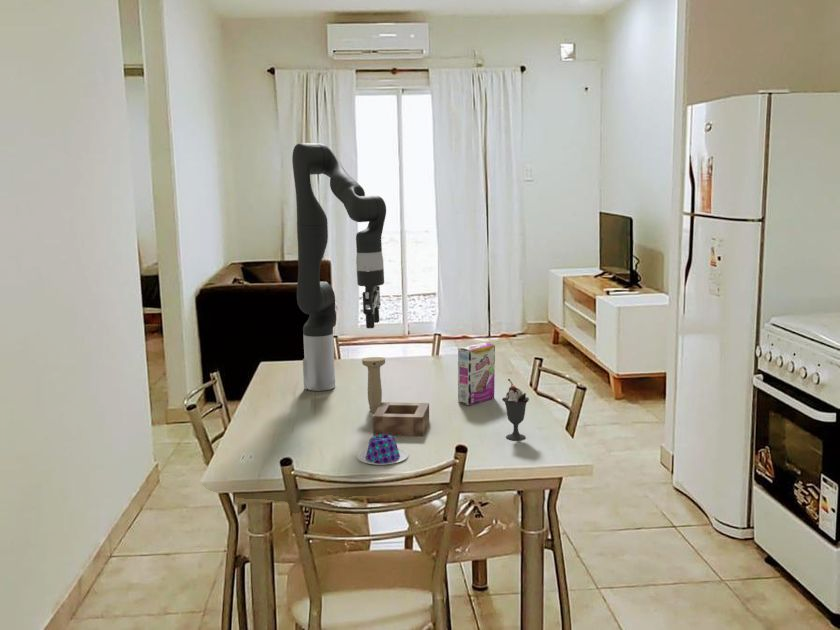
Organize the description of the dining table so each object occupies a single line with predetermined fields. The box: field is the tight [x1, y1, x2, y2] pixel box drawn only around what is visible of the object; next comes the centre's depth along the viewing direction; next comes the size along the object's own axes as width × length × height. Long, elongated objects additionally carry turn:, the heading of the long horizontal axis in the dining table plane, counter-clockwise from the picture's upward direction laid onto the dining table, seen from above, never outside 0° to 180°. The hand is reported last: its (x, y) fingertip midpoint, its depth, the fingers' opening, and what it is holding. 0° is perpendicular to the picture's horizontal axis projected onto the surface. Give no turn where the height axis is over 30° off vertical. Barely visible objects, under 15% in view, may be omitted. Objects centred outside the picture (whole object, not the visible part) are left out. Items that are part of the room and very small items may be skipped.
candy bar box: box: [457, 342, 496, 406], centre depth 245 cm, size 11×5×16 cm, turn 135°
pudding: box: [357, 434, 409, 466], centre depth 200 cm, size 12×12×5 cm
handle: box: [361, 356, 386, 413], centre depth 238 cm, size 5×6×15 cm
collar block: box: [372, 401, 430, 437], centre depth 222 cm, size 13×13×5 cm
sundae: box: [501, 378, 530, 442], centre depth 212 cm, size 7×7×15 cm
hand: (373, 325), depth 238 cm, fingers open, 8 cm apart
